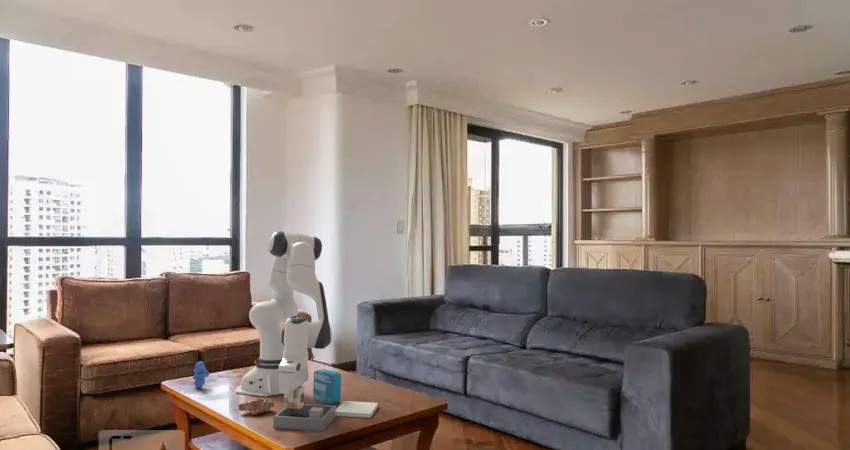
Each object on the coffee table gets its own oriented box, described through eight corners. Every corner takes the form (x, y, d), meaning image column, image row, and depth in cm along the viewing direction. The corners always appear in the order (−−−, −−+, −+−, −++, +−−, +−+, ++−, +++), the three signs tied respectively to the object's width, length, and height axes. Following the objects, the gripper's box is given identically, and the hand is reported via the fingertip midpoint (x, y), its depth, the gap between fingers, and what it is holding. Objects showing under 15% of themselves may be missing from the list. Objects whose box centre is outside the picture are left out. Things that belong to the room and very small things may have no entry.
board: (333, 415, 219) (333, 411, 219) (343, 404, 233) (343, 400, 233) (370, 417, 217) (370, 413, 217) (377, 406, 231) (377, 402, 231)
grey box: (309, 424, 209) (309, 410, 209) (312, 420, 213) (312, 407, 213) (319, 425, 208) (320, 411, 208) (323, 421, 212) (323, 407, 212)
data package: (312, 399, 240) (313, 370, 240) (321, 396, 243) (321, 368, 244) (332, 405, 232) (333, 374, 232) (340, 402, 236) (341, 372, 236)
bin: (273, 427, 204) (273, 416, 204) (289, 413, 220) (289, 403, 220) (323, 431, 202) (323, 419, 202) (335, 416, 218) (335, 405, 218)
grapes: (213, 390, 250) (214, 362, 250) (197, 392, 246) (198, 363, 246) (205, 384, 260) (206, 357, 260) (189, 386, 256) (190, 358, 256)
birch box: (283, 407, 210) (284, 388, 210) (287, 404, 214) (288, 385, 214) (300, 409, 209) (300, 389, 209) (304, 405, 213) (304, 386, 213)
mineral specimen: (249, 415, 213) (244, 397, 215) (240, 421, 217) (235, 404, 220) (278, 408, 221) (273, 390, 224) (268, 414, 226) (264, 397, 228)
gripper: (297, 354, 222) (295, 391, 222) (276, 367, 202) (274, 407, 202) (313, 355, 221) (311, 392, 221) (293, 368, 201) (292, 408, 201)
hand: (293, 399), depth 212 cm, fingers closed on birch box, 4 cm apart
